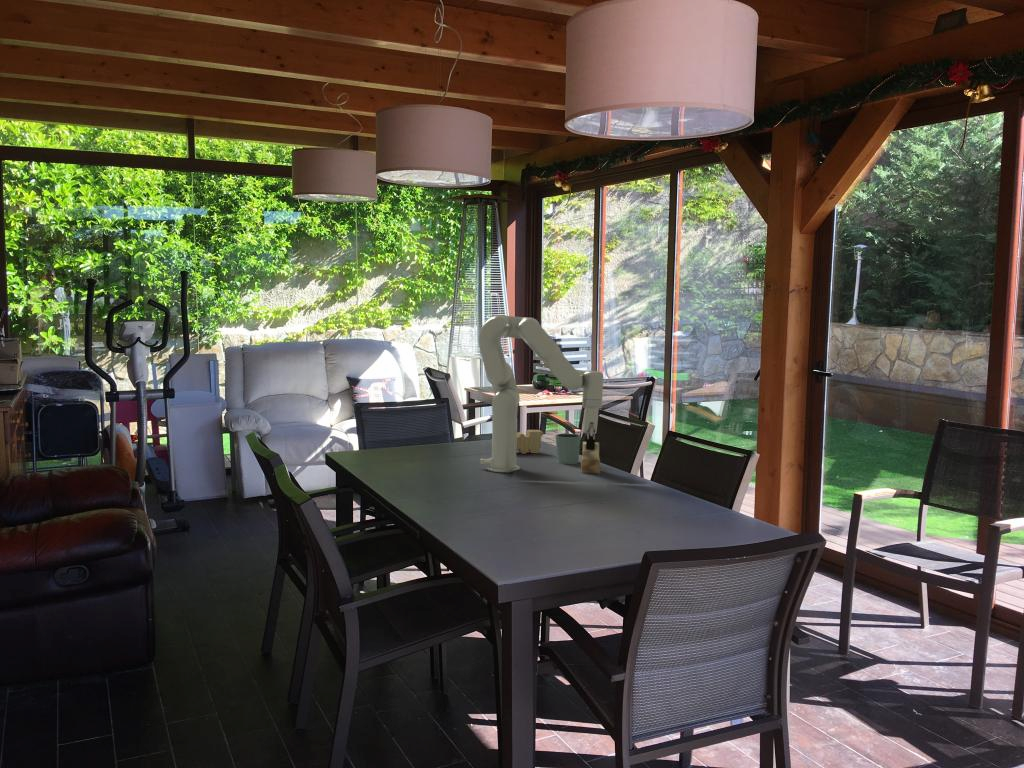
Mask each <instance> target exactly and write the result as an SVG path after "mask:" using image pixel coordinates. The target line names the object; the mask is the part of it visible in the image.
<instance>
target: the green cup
mask: <svg viewBox="0 0 1024 768" xmlns="http://www.w3.org/2000/svg"><path fill="white" fill-rule="evenodd" d="M555 445H556V459H557V460H556V461H557V463H558V464H562V465H563V464H564V465H576V464H578V463H579V458H580V457H579V455H580V447H581V446H580V445H581V434H576V433H558V434H555Z"/></svg>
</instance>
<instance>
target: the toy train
mask: <svg viewBox="0 0 1024 768" xmlns="http://www.w3.org/2000/svg"><path fill="white" fill-rule="evenodd" d="M543 436H544V432H543V431H542V430H540V429H526V434H524V433H522V432H520V431H517V445H516V452H519V453H520V454H524V455H525V454H527V453H528V452H530V453H531V454H532V453H537V454H538V453H539V451H540V449H542V437H543Z"/></svg>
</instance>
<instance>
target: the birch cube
mask: <svg viewBox="0 0 1024 768" xmlns="http://www.w3.org/2000/svg"><path fill="white" fill-rule="evenodd" d="M582 457H583V460H599V458H600V442H599V441H595V449H594V450H586V442H585V441H582Z"/></svg>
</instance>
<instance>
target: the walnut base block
mask: <svg viewBox="0 0 1024 768" xmlns="http://www.w3.org/2000/svg"><path fill="white" fill-rule="evenodd" d="M580 470H581V472H580V474H601V459H600V457H599V460H583V456H581V457H580Z"/></svg>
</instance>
